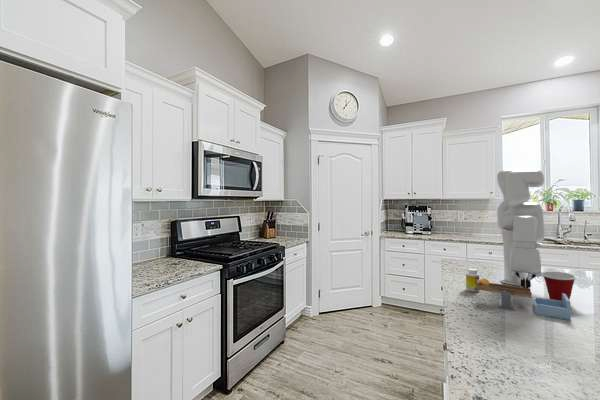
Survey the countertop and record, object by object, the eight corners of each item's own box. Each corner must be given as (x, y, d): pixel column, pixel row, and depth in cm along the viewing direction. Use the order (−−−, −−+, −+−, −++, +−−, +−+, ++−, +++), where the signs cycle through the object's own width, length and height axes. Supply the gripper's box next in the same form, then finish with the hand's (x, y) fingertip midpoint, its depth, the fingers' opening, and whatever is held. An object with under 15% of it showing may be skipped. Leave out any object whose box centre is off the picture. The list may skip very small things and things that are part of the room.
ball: (480, 285, 121) (479, 277, 121) (489, 286, 119) (489, 277, 119) (479, 287, 118) (479, 279, 119) (489, 288, 116) (488, 279, 116)
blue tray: (532, 306, 113) (531, 289, 113) (565, 311, 107) (565, 293, 107) (534, 314, 105) (534, 296, 105) (570, 320, 99) (570, 301, 99)
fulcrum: (499, 300, 120) (498, 284, 120) (513, 302, 117) (513, 286, 117) (498, 308, 112) (498, 290, 112) (514, 310, 109) (513, 292, 109)
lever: (479, 282, 128) (479, 276, 128) (529, 290, 117) (529, 283, 117) (476, 289, 118) (476, 282, 118) (531, 298, 107) (531, 291, 107)
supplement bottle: (476, 292, 130) (475, 271, 130) (464, 289, 135) (463, 269, 135) (481, 290, 133) (481, 269, 133) (469, 287, 138) (469, 267, 138)
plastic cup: (536, 299, 120) (535, 272, 120) (551, 296, 124) (550, 269, 124) (567, 308, 110) (566, 278, 110) (582, 304, 114) (582, 275, 114)
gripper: (547, 245, 114) (548, 289, 114) (502, 242, 123) (503, 283, 123) (549, 247, 108) (550, 294, 108) (502, 244, 117) (503, 288, 117)
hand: (525, 288), depth 115 cm, fingers closed
